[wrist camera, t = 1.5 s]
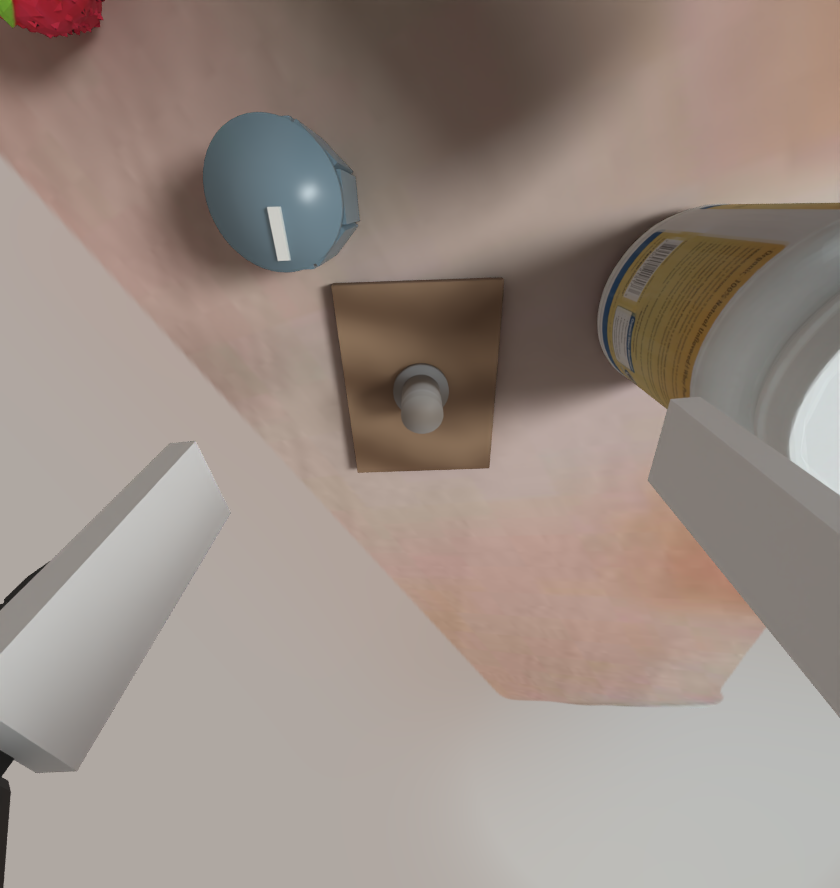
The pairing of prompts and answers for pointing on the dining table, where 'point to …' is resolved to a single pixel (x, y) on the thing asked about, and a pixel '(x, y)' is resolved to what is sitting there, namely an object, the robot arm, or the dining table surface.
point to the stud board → (420, 371)
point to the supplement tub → (738, 321)
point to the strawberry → (52, 15)
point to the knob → (279, 192)
